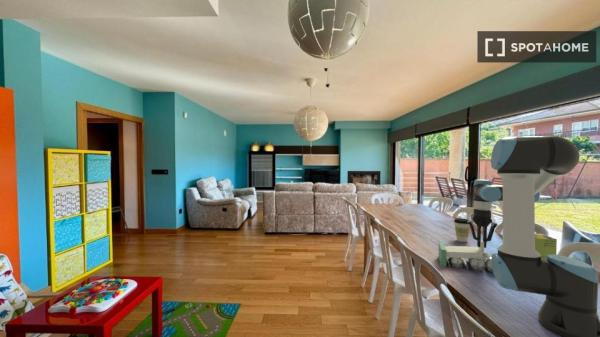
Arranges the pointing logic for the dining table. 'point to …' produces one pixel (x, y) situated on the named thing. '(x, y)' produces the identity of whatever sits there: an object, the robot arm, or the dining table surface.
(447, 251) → the slab
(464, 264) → the cradle
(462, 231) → the coffee cup
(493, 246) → the dining table surface
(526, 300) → the dining table surface
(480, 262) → the roller bed
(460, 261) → the roller
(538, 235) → the protein box
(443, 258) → the bar
